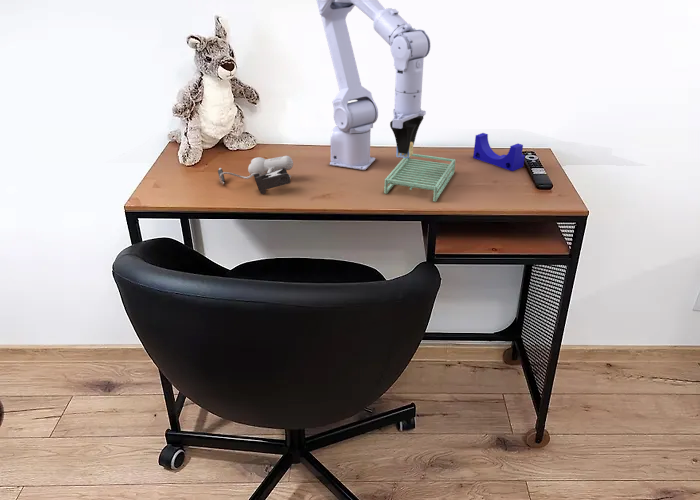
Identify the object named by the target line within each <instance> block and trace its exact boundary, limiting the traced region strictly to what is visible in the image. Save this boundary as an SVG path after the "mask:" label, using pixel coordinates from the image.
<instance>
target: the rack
mask: <svg viewBox="0 0 700 500" xmlns="http://www.w3.org/2000/svg"><path fill="white" fill-rule="evenodd" d="M411 157H416V159H415V158H411ZM411 157H410V158H401V159H400V161H399V162H398V164H396V166H395V167H394V168H393V169H392V170H391V172H390V173H389V174H388V175H387V177H385V178H384V187H383V188H384V189H383V190H384V191H383V192H384V193H383V194H385V195H388V193H389V192H390V190H391V189H392V188H393V187H394V186H402V187H408V188H409V191H412V190H413V189H414V188H415V189H421V190H427V191H433V198H432V201H433V202H434V203H437V201H438V199H439V197H440V195H441V194H442V193H443V191H444V190H445V188H446V187H447V185H448V183H449V182H450V181H451V179H452V177H453V176H454V174H455V171H456V158H447V157H442V156H441V157H439V156H432V155H427V154H426V155H425V154H419V153H413V155H412V156H411ZM417 158H424V159H431V160H437V161H438V162H437V161H431V160H423V159H417ZM439 161H444V162H439ZM445 161H446V162H450V163H445Z"/></svg>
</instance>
